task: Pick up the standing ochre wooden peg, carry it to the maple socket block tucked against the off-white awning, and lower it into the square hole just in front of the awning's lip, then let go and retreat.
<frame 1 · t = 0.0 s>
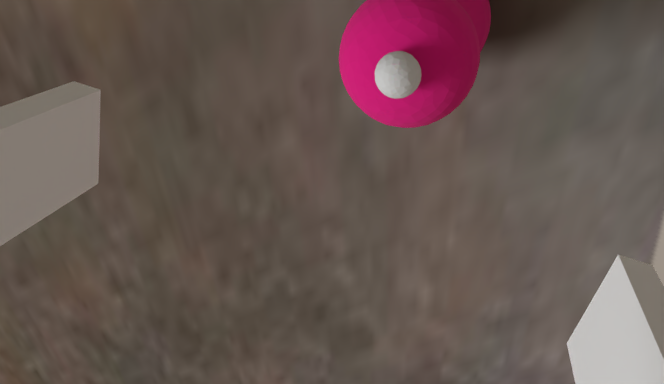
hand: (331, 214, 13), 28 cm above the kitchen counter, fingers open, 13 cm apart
pepper mill: (435, 13, 37), on the kitchen counter
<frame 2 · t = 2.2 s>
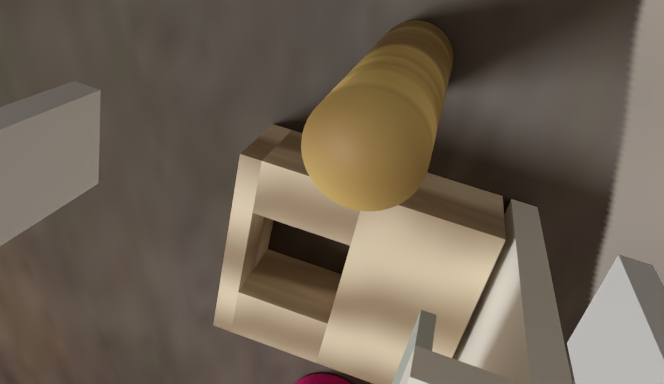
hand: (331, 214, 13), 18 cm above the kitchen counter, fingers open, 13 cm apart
socket block: (359, 242, 34), on the kitchen counter
peg: (414, 59, 29), on the kitchen counter
awning: (447, 364, 27), on the kitchen counter
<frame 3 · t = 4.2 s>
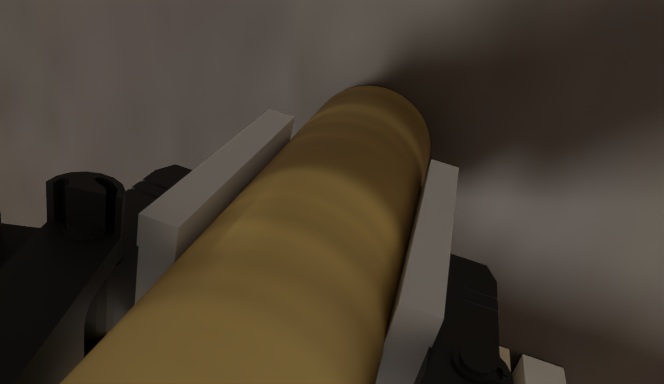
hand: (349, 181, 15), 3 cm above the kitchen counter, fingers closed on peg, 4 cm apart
peg: (369, 145, 18), on the kitchen counter, touching gripper
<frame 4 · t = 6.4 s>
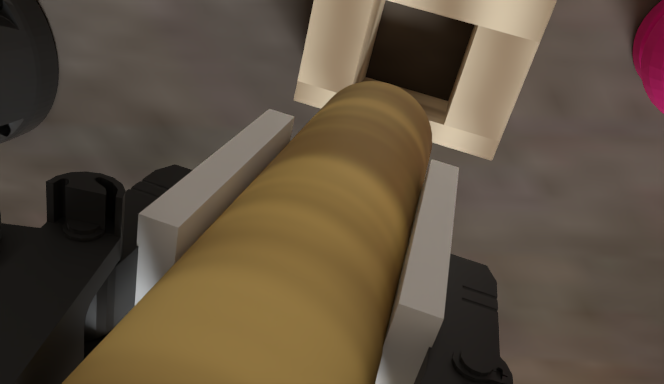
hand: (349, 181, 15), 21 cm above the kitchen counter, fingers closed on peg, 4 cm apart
peg: (373, 138, 19), point 17 cm above the kitchen counter, touching gripper
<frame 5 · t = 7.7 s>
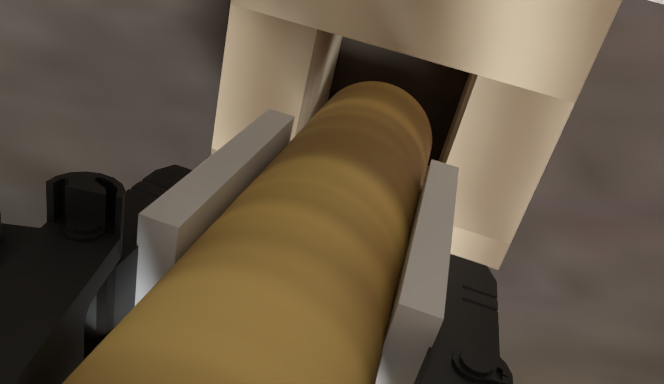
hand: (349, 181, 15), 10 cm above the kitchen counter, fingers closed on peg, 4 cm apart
socket block: (413, 24, 22), on the kitchen counter
peg: (373, 138, 19), point 6 cm above the kitchen counter, touching gripper
when the fingers open (6 cm above the kitchen counter, at t = 8.6 s): peg drops 2 cm, on the kitchen counter.
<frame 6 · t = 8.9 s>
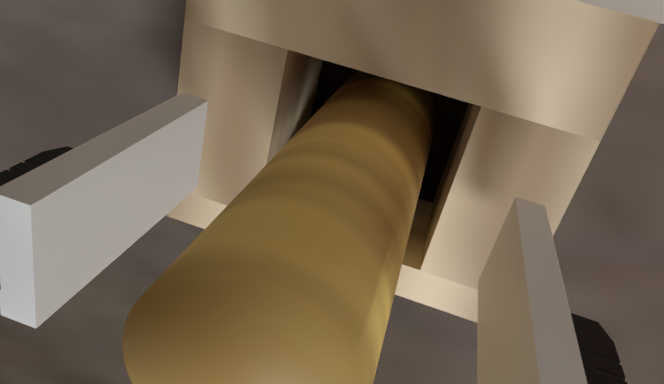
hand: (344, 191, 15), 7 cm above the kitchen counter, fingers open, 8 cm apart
socket block: (406, 40, 19), on the kitchen counter
peg: (383, 118, 21), on the kitchen counter
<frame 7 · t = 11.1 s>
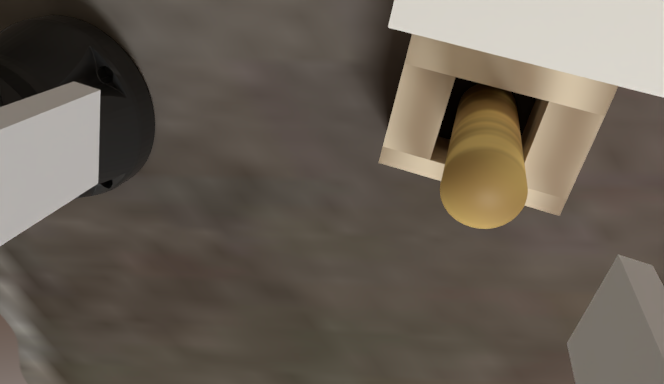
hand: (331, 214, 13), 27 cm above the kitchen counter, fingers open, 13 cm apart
socket block: (501, 68, 36), on the kitchen counter
peg: (486, 110, 38), on the kitchen counter
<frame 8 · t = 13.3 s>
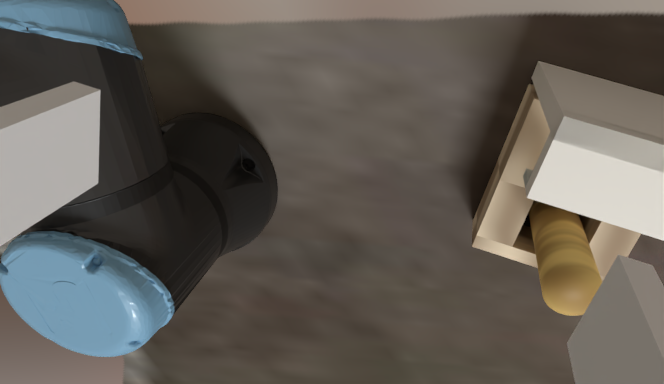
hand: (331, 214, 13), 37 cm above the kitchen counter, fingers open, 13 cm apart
socket block: (564, 176, 49), on the kitchen counter
peg: (550, 204, 50), on the kitchen counter
awning: (616, 143, 39), on the kitchen counter
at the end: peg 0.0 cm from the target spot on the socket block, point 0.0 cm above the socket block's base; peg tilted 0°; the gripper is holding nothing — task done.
